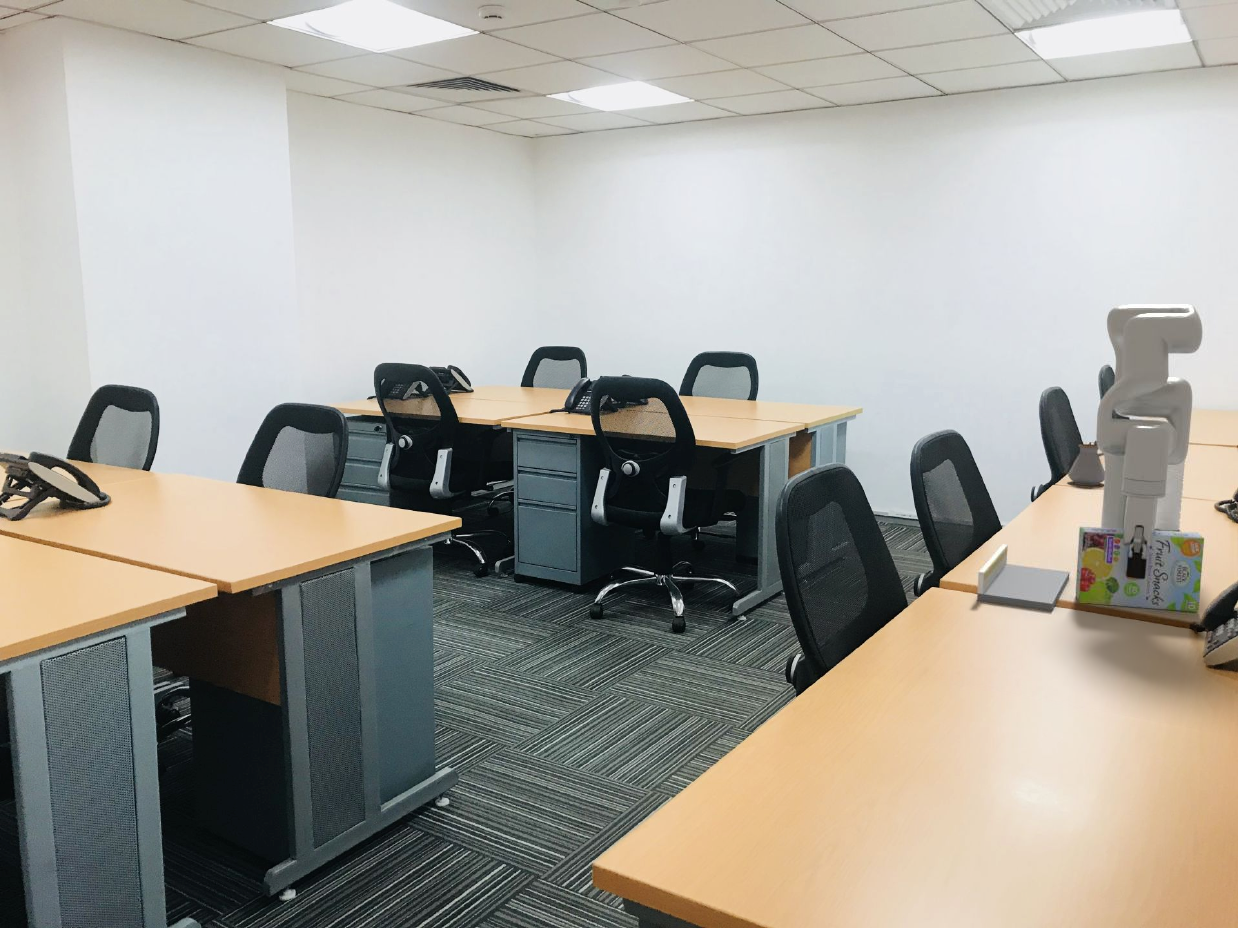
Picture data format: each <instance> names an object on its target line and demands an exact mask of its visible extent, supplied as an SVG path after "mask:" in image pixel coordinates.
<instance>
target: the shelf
mask: <svg viewBox="0 0 1238 928" xmlns="http://www.w3.org/2000/svg"><path fill="white" fill-rule="evenodd" d="M1007 562H1008V544H1004V543H1002V544H1001V546H1000V547H999V548H998V549H997V551H996V552H994V553H993V555H992V556H991V558H990V559H988V561H987V562H986V563H984V565H983V566H982V567H981V569H979V571H978V579H977V599H976V600H977V601H980V602H986V603H993V604H999V605H1001V604H1002V605H1007V606H1014V607H1020V608H1021V607H1022V608H1026V609H1034V610H1035V609H1036V610H1041V609H1042V611H1047V610H1048V611H1049V612H1053V610H1054V608H1055V606H1056V604H1057V602H1058V600H1059V599H1060V597H1059V596H1061V595H1062V593H1063V591H1064V589H1065V587H1066V586H1067V583H1068V582H1067V581H1069V579H1070V574H1071V573H1070V571H1064V570H1058V569H1057V570H1056V569H1049V568H1042V567H1034V566H1026V565H1025V566H1024V565H1018V564H1017V565H1016V564H1009V563H1007ZM1060 594H1061V595H1060ZM1058 598H1059V599H1058ZM1048 611H1047V612H1048Z"/></svg>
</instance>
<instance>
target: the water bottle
mask: <svg viewBox="0 0 1238 928" xmlns="http://www.w3.org/2000/svg"><path fill="white" fill-rule="evenodd" d="M1185 463H1186V459H1185V460H1184V461H1183V462H1182V463H1180V464H1177V465H1168V470H1167V484H1166V496H1165V497H1163V498H1158V505H1157V516H1156V524H1155V530H1157V531H1176V532H1178V531H1179V530H1180V524H1181V522H1180V519H1181V512H1182V501H1183V500H1182V498H1183V489H1184V488H1183V487H1184V483H1183V482H1184V476H1185V466H1186V464H1185Z"/></svg>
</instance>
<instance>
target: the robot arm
mask: <svg viewBox="0 0 1238 928" xmlns="http://www.w3.org/2000/svg"><path fill="white" fill-rule="evenodd" d="M1106 327H1107V329H1106V330H1107V333H1108V337H1109V340H1110V343H1111V345H1112V348H1113V351H1114V355H1115V356H1114V357H1115V370H1114V371H1115V372H1114V383H1113V385H1111V386H1110V388H1109V389H1108V390H1107V391H1106V392H1105V393H1104V395H1103V396H1102V398H1101V400H1100V403H1099V406H1098V408H1097V419H1096V434H1095V435H1096V445H1097V446H1098V451H1099V452H1100V453H1104V455H1103V456H1104V471H1105V479H1104V481H1103V495H1102V496H1103V497H1102V509H1101V510H1102V512H1101V522H1100V528H1118V529H1124V533H1123V544H1124V545H1126V544H1129V543H1130V541H1131V543H1130V551H1129V557H1128V560H1127V573H1126V576H1127V577H1129V578H1137V579H1145V573H1146V561H1147V559H1145V555H1146V547H1147V548H1148V547H1150V546H1151V542H1152V538H1153V534H1154V530H1156V529H1155V524H1156V516H1157V505H1158V498H1163V497H1165V496H1166V484H1167V470H1168V465H1177V464H1180V463H1182V462H1183V461H1184V460H1185V461H1186V459H1187V456H1188V451H1189V446H1190V445H1189V443H1190V431H1191V421H1192V410H1193V390H1192V386H1191V384H1190V383H1189V381H1187V380H1186V379H1184V378H1182V377H1170V376H1169V374H1170V371H1169V354H1171V355H1172V354H1176V355H1178V354H1193V353H1196V352H1197V351H1198V350H1199V349H1200V347H1201V344H1202V341H1203V324H1202V320H1201V317H1200V315H1199V313H1198V311H1197V310H1196V307H1194V306H1193V305H1190V304H1178V303H1177V304H1175V303H1174V304H1127V305H1120V306H1116V307H1114V308H1112V309H1110V311H1109V312H1108V315H1107V318H1106ZM1113 411H1114V412H1115V413H1116V414H1117V415H1119V416H1121V417H1126V418H1113ZM1131 418H1132V419H1131ZM1133 418H1136V419H1133ZM1155 419H1156V420H1155ZM1157 419H1163V420H1157ZM1143 530H1144V532H1143ZM1133 538H1134V539H1133Z"/></svg>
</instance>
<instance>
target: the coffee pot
mask: <svg viewBox="0 0 1238 928" xmlns="http://www.w3.org/2000/svg"><path fill="white" fill-rule="evenodd" d="M1078 447H1079V450H1080V452H1079V454H1078V455H1077V457H1076V458H1075V460H1074V462H1073V464H1072V466H1071V468H1070V469H1069V471H1068V473H1067V475H1068V478H1069V479H1070V481H1072V482H1073V483H1074V484H1076V485H1080V486H1099V485H1100V484H1101V483H1104V479H1105V467H1104V466H1103V464H1102V460H1101V458H1100V457H1103V456H1104V453H1102V452H1100V453H1099V452H1098V451H1099V448H1098V446H1097V444H1088V443H1085V444H1084V443H1083V444H1082V443H1081V444H1078Z"/></svg>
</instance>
